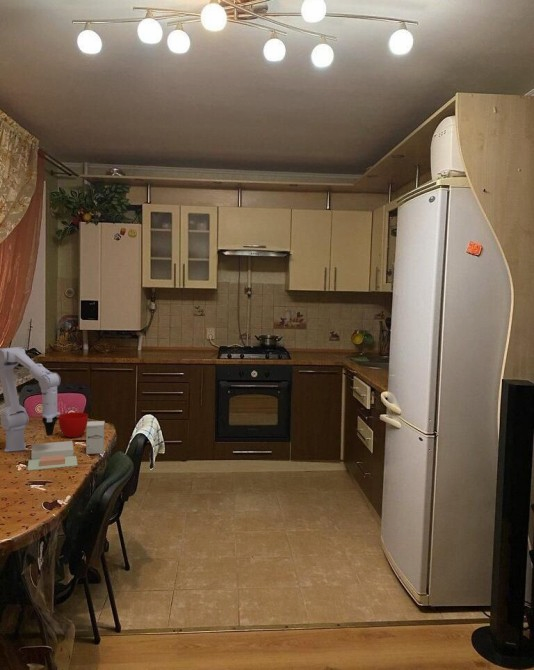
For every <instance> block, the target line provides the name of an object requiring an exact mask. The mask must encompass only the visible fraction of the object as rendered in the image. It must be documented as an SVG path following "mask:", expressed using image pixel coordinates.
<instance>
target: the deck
mask: <svg viewBox="0 0 534 670" xmlns="http://www.w3.org/2000/svg"><path fill="white" fill-rule="evenodd" d="M74 453H75V452H74V443H73V440H67V441H55V442H43V443H42V442H41V443H33V444H32V445H31V454H30V455H31V460H36V459H41V457H44V456H55V455H65V457H69V456H75V455H74Z"/></svg>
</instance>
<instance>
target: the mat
mask: <svg viewBox="0 0 534 670" xmlns="http://www.w3.org/2000/svg"><path fill="white" fill-rule="evenodd" d="M40 460H41V459H36V460H32V459H28V463H27V471H26V472H29V471H39V470H40V471H41V470H51V469H61V467H62V468H69V467H70V466H71V467H78V459H77V455H74V456H69V457H65V464H61V465H51V466H40Z"/></svg>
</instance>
